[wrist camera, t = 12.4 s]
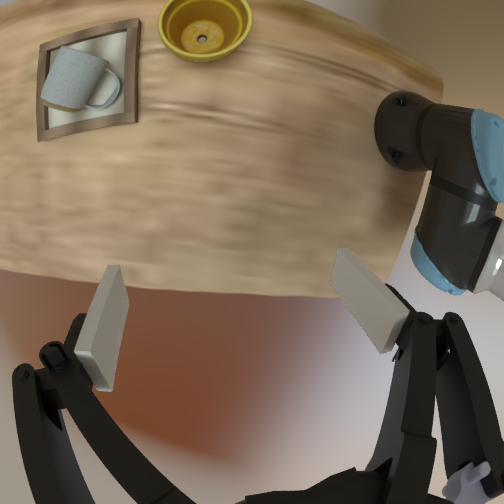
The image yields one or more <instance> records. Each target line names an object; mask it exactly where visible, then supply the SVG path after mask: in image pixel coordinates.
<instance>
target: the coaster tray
mask: <svg viewBox="0 0 504 504" xmlns="http://www.w3.org/2000/svg"><path fill="white" fill-rule="evenodd" d="M140 30H141V21H140V19H139V18H134V19H129V20H123V21H118V22H113V23H109V24H104V25H100V26H96V27H92V28H88V29H85V30H81V31H78V32H75V33H72V34H68V35H65V36H62V37H60V38H57V39H54V40H51V41H49V42H46V43H43V44H41V45H40V50H39V59H38V71H37V92H36V117H37V138H38V142H40V141H44V140H48V139H52V138H56V137H60V136H64V135H68V134H72V133H77V132H81V131H86V130H91V129H96V128H102V127H108V126H114V125H120V124H127V123H134V122H138V110H137V90H138V58H139V42H140ZM62 46H67V47H70V48H73V49H76V50H80V51H83V52H86V53H89V54H92V55H95V56H98V57H100V58H103V59H105V60H107V61H109V64H108V66H107V67H108V68H109V69H111V70H112V71H113V72H114V73H115V74H116V75H117V76H118V78H119V81H120V91H119V93H118V95H117V97H116V98H115V100H114V101H113V102H112V103H111V104H110V105H108V106H107V107H105V108H102V109H89V108H86V107H83V108H82V110H80V111H78V112H75V113H71V112H64V111H60V110H56V109H53V108H50V107H48V106H46V105H44V104H43V103H42V102H41V100H40V97H41V92H42V88H43V86H44V83H45V81H46V78H47V76H48V74H49V71H50V69H51V67H52V64H53V62H54V60H55V58H56V56H57V54H58V52H59V50H60V48H61V47H62ZM116 86H117V85H116V80H115V78H114V76H113V75H112V74H111V73H109V72H108V71H104V72H103V74H102V76H101V77H100V79H99V81H98V82H97V84H96V86H95V87H94V89H93V92H92V93H91V95H90V97H89V99H88V101H87V104H90V105H102V104H104V103H105V102H106V100H107V99H108V98H109V97H110V96H111V95H112V93H113V92H114V90H115V89H116Z"/></svg>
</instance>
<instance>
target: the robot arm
mask: <svg viewBox="0 0 504 504" xmlns="http://www.w3.org/2000/svg"><path fill="white" fill-rule="evenodd" d="M375 136H376V141H377V145H378V148H379V150H380V152H381V154H382V156H383V157H384V158H385V160H386V161H387V162H388V163H389V164H391V165H392V166H394V167H396V168H398V169H401V170H404V171H409V172H415V171H428V170H431V171H432V175H431V179H430V182H429V187H428V191H427V195H426V198H425V202H424V206H423V209H422V213H421V216H420V219H419V222H418V225H417V226H416V229H415V236H414V239H413V243H412V246H411V258H412V261H413V263H414V265H415V267H416V268H417V270H418V271H419V272H420V273H421V275H423V277H425V279H426V280H428V281H429V282H430V283H431V284H433V285H434V286H435V287H437V288H439V289H440V290H442V291H444V292H447V291H448V292H449V293H450V294H452V295H461V294H462V293H463V292H465V291H466V290H467V289H468V290H469V291H471V292H472V293H474V294H476V293H479V292H481V291H486V290H487V291H490V292H491V293H493V294H494V295H496V296H497V297H498V298H500V299H501V300H503V301H504V220H502V219H501V218H499V217H497V216H495V211H496V208H497V205H498V202H499V203H501V202H504V119H503V118H501V117H500V116H497V115H494V114H491V113H488V112H485V111H483V110H481V109H470V108H464V107H458V106H451V105H444V104H436V103H434V102H432V101H430V100H428V99H426V98H424V97H422V96H421V95H419V94H416V93H413V92H402V91H401V92H395V93H392V94H390V95H389V96H387V97H386V98H385V99H384V100H383V102H382V103H381V105H380V107H379V109H378V111H377V115H376V120H375ZM330 285H331V286H332V287H333V289H334V290H335V291H336V293H337V294H338V295H339V297H340V298H341V299H342V301H343V302H344V304H345V305H346V306H347V308H348V309H349V310H350V312H351V313H352V315H353V316H354V317H355V319H356V320H357V321H358V323H359V324H360V326H361V327H362V329H363V330H364V331H365V333H366V334H367V336H368V337H369V338H370V340H371V341H372V342H373V344H374V346H375V347H376V349H377V350H378V351H379V353H380V354H383V353H386V352H389V351H392V349H393V347H394V345H395V343H396V344H397V345H398V346H399V348H398V350H397V352H396V354H395V356H394V357H393V360H392V362H394V360H395V366H394V372H393V377H392V383H391V388H390V393H389V398H388V402H387V406H386V411H385V415H384V419H383V423H382V426H381V430H380V434H379V437H378V441H377V444H376V448H375V451H374V454H373V456H372V459H371V460H370V462H369V463H368V465H367V467H366V469H365V471H356V468H355V467H354V468H351V469H348V470H346V471H343V472H340V473H337V474H334V475H331V476H329V477H328V478H326V479H324V480H323V481H321V482H320V483H317V484H316V485H314V486H312V487H310V488H309V489H307V490H300V491H272V492H267V493H261V494H255V495H249V496H245V500H243V501H240V502H238V503H236V504H485V503H486V502H488V501H490V500H492V499H494V498H495V497H497V496H499V495H501V494H503V493H504V441H503V439H502V437H501V432H500V427H499V423H498V419H497V415H496V411H495V407H494V403H493V400H492V396H491V393H490V389H489V386H488V383H487V380H486V377H485V374H484V371H483V368H482V366H481V363H480V360H479V358H478V355H477V352H476V350H475V347H474V345H473V342H472V340H471V338H470V335H469V333H468V331H467V328H466V326H465V324H464V322H463V320H462V318H461V317H460V316H459V315H458V314H456V313H453V312H447V313H445V315H444V317H443V319H442V320H434V319H433V317H432V316H430V315H429V314H427V313H425V312H417V311H415V309H414V308H413V307H412V306H411V305H410V304H409V303H408V302H407V301H406V300H405V299H403V297H402V296H401V295H400V294H399V293H398V291H397V290H396V289H395V288H393V287H392V286H390V285H388V284H387V283H386V284H384V283H383V282H382V281H381V280H380V279H379V278H378V277H377V276H376V275H375V274H374V273H373V272H372V271H371V270H370V269H369V268H368V267H367V266H366V265H365V264H364V263H363V262H362V261H361V260H360V259H359V258H358V257H357V256H356V255H355V254H354V253H353V252H352V251H351V250H350V249H349V248H337V254H336V259H335V264H334V270H333V275H332V280H331V284H330ZM128 307H129V299H128V295H127V292H126V288H125V284H124V280H123V276H122V272H121V268H120V265H108V266H107V268H106V271H105V273H104V275H103V277H102V279H101V282H100V284H99V286H98V289H97V291H96V293H95V296H94V298H93V301H92V303H91V305H90V308H89V310H88V313H85V314H84V313H83V314H78V316H77V317H76V318H75V319H74V320H73V322H72V325H71V327H70V329H69V332H68V335H67V337H66V340H65V342H64V345H63V344H62V343H61V342H59V341H52V342H49V343H47V344H46V345H44V346H43V347H42V349H41V350H40V353H39V358H40V360H41V362H42V363H43V365H44V367H45V368H42V369H38V370H34V368H33V367H32V366H31V365H30V364H27V363H24V364H21V365H19V366H18V367H17V368H16V369H15V370H14V372H13V375H12V386H13V401H14V410H15V419H16V427H17V433H18V439H19V444H20V449H21V454H22V459H23V463H24V467H25V471H26V474H27V478H28V481H29V485H30V488H31V491H32V494H33V497H34V500H35V503H36V504H95V502H94V500H93V498H92V496H91V494H90V491H89V490H88V487H87V485H86V482H85V480H84V478H83V475H82V473H81V470H80V468H79V465H78V463H77V460H76V457H75V454H74V452H73V449H72V446H71V443H70V440H69V436H68V434H67V430H66V426H65V423H64V420H63V416H62V412H61V409H65V408H67V410H68V411H69V413H70V415H71V416H72V418H73V420H74V422H75V423H76V425H77V426H78V428H79V430H80V431H81V433H82V434H83V436H84V437H85V439H86V440H87V442H88V443H89V445H90V446H91V448H92V449H93V450H94V452H95V453H96V455H97V456H98V457H99V459H100V460H101V461H102V463H103V464H104V465H105V467H106V468H107V469H108V470H109V472H110V473H111V474H112V475H113V476H114V478H115V479H116V480H117V481H118V483H119V484H120V485H121V486H122V487H123V488H124V489H125V491H126V492H127V493H128V494H129V495H130V496H131V497H132V498H133V499H134V500H135V501H136V502H137V504H196V503H195V502H194V501H192V500H191V499H190V498H189V497H187V496H186V495H185V494H184V493H183V492H181V491H180V490H179V489H178V488H177V487H176V486H174V485H173V484H172V483H171V482H170V481H169V480H168V479H167V478H166V477H165V476H164V475H163V474H161V473H160V472H159V471H158V470H157V469H156V468H155V467H154V466H153V465H152V464H151V463H150V462H149V461H148V459H147V458H145V456H144V455H143V454H142V453H141V452H140V451H139V450H138V449H137V448H136V447H135V445H134V444H133V443H132V442H131V441H130V440H129V439H128V437H127V436H126V435H125V434H124V433H123V432H122V430H121V429H120V428H119V427H118V425H117V424H116V423H115V422H114V420H113V419H112V418H111V417H110V415H109V414H108V413H107V411H106V410H105V409H104V407H103V406H102V405H101V403H100V402H99V400H98V399H97V398H96V396H95V395H94V393H93V392H92V387H93V384H94V386H95V387H96V389H97V390H98V391H112V390H113V383H114V377H115V371H116V365H117V359H118V353H119V349H120V343H121V339H122V334H123V329H124V324H125V320H126V315H127V311H128ZM449 349H450V353H449V352H448V350H449ZM435 394H436V399H437V405H438V411H439V418H440V425H441V433H442V442H443V453H444V464H445V470H446V475H447V479H448V482H447V485H446V486H445V487H444V488H443V490H442V494H443V496H445V497H446V499H443V498H440V497H437V496H434V495H432V494H428V493H427V492H428V488H429V484H430V480H431V475H432V470H433V465H434V460H435V454H436V447H437V440H436V438H433V437H432V436H431V432H432V425H433V415H434V406H435Z"/></svg>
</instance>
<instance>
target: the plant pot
mask: <svg viewBox="0 0 504 504" xmlns="http://www.w3.org/2000/svg"><path fill="white" fill-rule="evenodd" d="M252 20H253V18H252V11H251V8H250V6H249V4H248V3H247V1H246V0H169V1H168V2H167V3H166V4H165V5H164V7H163V8H162V10H161V12H160V15H159V18H158V31H159V35H160V37H161V39H162V41H163V43H164V45H165V46H166V47H167V48H168V50H169V51H171V52H172V53H173V54H174V55H176V56H178V57H180V58H182V59H185V60H188V61H193V62H209V61H214V60H218V59H221V58H223V57H225V56H227V55H229V54H231V53H232V52H233V51H235V50H236V49H237V48H238V47H239V46H240V45H241V44H242V43H243V41H244V40H245V39H246V37H247V36H248V34H249V32H250V30H251V27H252ZM200 36H205V37H206V38H207V40H206V41H205V42H204V43H199V42H198V37H200Z"/></svg>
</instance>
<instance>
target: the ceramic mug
mask: <svg viewBox="0 0 504 504" xmlns="http://www.w3.org/2000/svg"><path fill="white" fill-rule="evenodd" d="M108 64H109V61H107V60H105V59H103V58H100V57H98V56H95V55H92V54H89V53H86V52H83V51H80V50H76V49H73V48H70V47H67V46H62V47H61V48H60V50H59V52H58V54H57V56H56V58H55V60H54V62H53V64H52V67H51V69H50V71H49V74H48V76H47V78H46V81H45V83H44V86H43V88H42V92H41V97H40V100H41V102H42V103H43V104H44V105H46V106H48V107H50V108H53V109H56V110H60V111H64V112H71V113H75V112H78V111H80V110H82V108H83V107H86V108H89V109H102V108H105V107H107V106H108V105H110V104H111V103H112V102H113V101H114V100H115V98H116V97H117V95H118V93H119V91H120V81H119V78H118V76H117V75H116V74H115V73H114V72H113V71H112V70H111V69H109V68H108V67H107V66H108ZM104 71H108V72H109V73H111V74H112V75H113V76H114V78H115V80H116V85H117V86H116V89H115V90H114V92H113V93H112V95H111V96H110V97H109V98H108V99H107V100H106V102H105V103H104V104H102V105H90V104H87V101H88V99H89V97H90V95H91V93H92V92H93V89H94V87H95V86H96V84H97V82H98V81H99V79H100V77H101V76H102V74H103V72H104Z"/></svg>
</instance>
